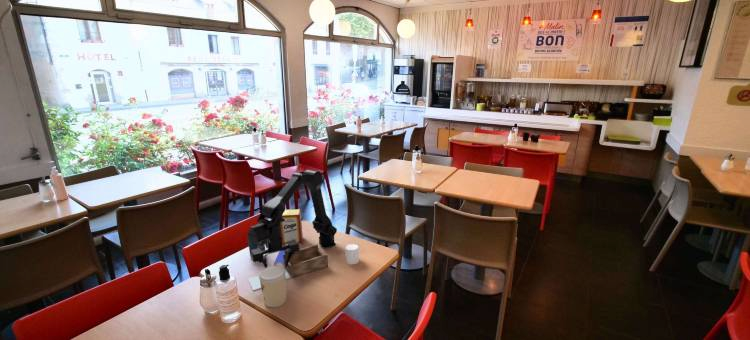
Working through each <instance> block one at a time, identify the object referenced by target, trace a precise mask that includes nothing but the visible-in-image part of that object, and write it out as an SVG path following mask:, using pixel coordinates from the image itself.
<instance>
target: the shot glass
mask: <svg viewBox="0 0 750 340" xmlns="http://www.w3.org/2000/svg"><path fill="white" fill-rule="evenodd" d="M343 248H344V249H343V250H344V255H345V261H346V264H348V265H356V264H358V263H359V262H360V249H361V247H360V245H359V244H358V243H351V242H350V243H346V245H344V246H343Z"/></svg>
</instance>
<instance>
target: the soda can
mask: <svg viewBox="0 0 750 340" xmlns="http://www.w3.org/2000/svg"><path fill="white" fill-rule="evenodd" d="M247 244H248V249H249V250H248V252H249V253H250V251H251V250H254V249H258V248H260V249H261V251H263V250H266V245H265V244H260V242H259V243H257V244H252V243H251V242H250V241H249V239H248V236H247Z"/></svg>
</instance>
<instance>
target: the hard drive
mask: <svg viewBox="0 0 750 340" xmlns="http://www.w3.org/2000/svg"><path fill="white" fill-rule="evenodd" d="M283 254H285V252H284V250H283V251H279V252H277V256H276V257H275V259H274V261H273V266H276V264H278V263H281V264H282V265H283V266H284V261H283Z"/></svg>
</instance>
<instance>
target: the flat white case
mask: <svg viewBox="0 0 750 340" xmlns="http://www.w3.org/2000/svg"><path fill="white" fill-rule="evenodd" d="M275 266H281V267H283V268H284V270H285V280H286V281H288V280H290V279H292V278H291V276H290V275H289V273H288V272H287V270H286V269H285V267H284V265H282V264H281V263H278V264H276V265H275ZM247 281H248V283H249V285H250V287H251V290H252V292H255V291H259V290H262V289H261V284H260V280H259V275H256V276H253V277H249V278H248V279H247Z"/></svg>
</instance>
